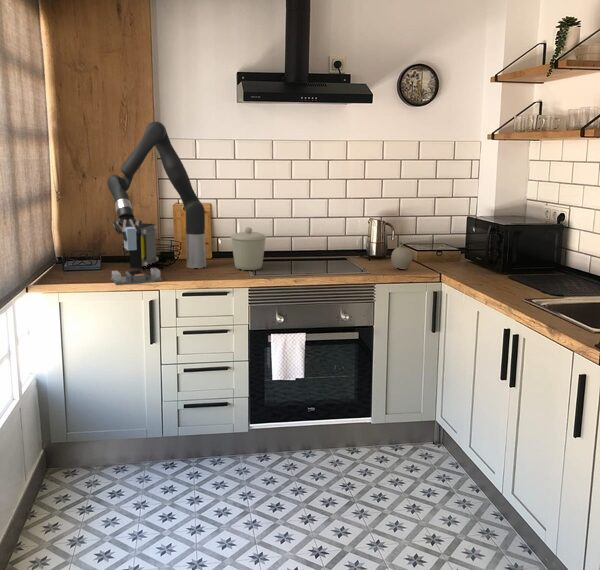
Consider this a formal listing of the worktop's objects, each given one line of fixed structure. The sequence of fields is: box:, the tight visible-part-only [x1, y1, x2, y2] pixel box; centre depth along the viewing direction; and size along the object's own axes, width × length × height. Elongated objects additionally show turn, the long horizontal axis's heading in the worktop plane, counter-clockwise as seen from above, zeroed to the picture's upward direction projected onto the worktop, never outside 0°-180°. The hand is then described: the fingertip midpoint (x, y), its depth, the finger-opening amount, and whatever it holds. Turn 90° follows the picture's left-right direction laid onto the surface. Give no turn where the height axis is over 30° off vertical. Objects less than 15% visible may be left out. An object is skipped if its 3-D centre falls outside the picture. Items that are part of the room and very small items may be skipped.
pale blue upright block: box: [123, 227, 137, 251], centre depth 327 cm, size 8×4×10 cm, turn 26°
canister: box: [229, 226, 268, 271], centre depth 350 cm, size 18×18×21 cm
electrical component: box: [129, 222, 159, 269], centre depth 356 cm, size 18×10×20 cm, turn 168°
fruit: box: [390, 241, 413, 269], centre depth 356 cm, size 10×12×15 cm
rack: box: [110, 267, 163, 286], centre depth 322 cm, size 12×21×4 cm, turn 116°
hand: (131, 239), depth 325 cm, fingers closed on pale blue upright block, 4 cm apart
